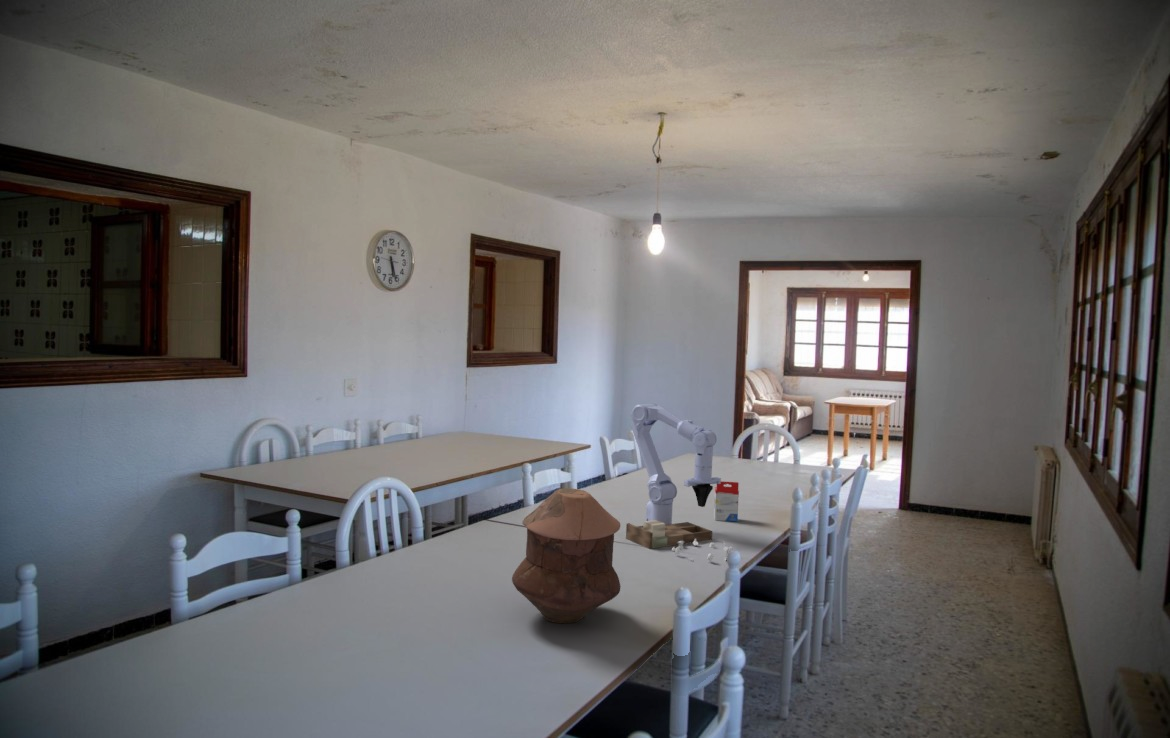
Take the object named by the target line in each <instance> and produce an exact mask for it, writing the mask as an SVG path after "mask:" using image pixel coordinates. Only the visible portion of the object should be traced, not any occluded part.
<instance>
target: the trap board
mask: <svg viewBox="0 0 1170 738" xmlns="http://www.w3.org/2000/svg"><path fill="white" fill-rule="evenodd" d="M652 536H653V533H652V532H649V531H647V530H644V529H643V525H634V524H633V523H630V522H628V523H626V529H625V539H626V540H629V541H631V542H632V543H635V544H638V545H640V546H643V547H644V548H647V549H649V550H650V549H658V548H664V547H665V548H666V547H670V546H673V547H674V546H679V544H678V541H683V542H684V543H683V545H687V544H693V542H694V541H695V539H696V541H697V542H698V543H701V542H707V541H713V530H711V529H707V528H705V527H702V526H699V525H696V524H695V523H691V522H689V521H685V522H676V523H672V524H668V525H665V536H661V537H654V538H652Z"/></svg>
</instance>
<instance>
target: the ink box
mask: <svg viewBox="0 0 1170 738" xmlns="http://www.w3.org/2000/svg"><path fill="white" fill-rule="evenodd" d="M739 484H740V483H739V482H737V481H722V480H721V484H716V487H714V504H713V505H714V506H713V519H714V521H722V522H737V523H738V520H739V517H738V516H739V515H738V513H739V495H740V494H739V493H740V490H739ZM724 485H726V486H724ZM727 485H728V486H727Z"/></svg>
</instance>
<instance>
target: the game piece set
mask: <svg viewBox="0 0 1170 738" xmlns="http://www.w3.org/2000/svg"><path fill="white" fill-rule="evenodd" d="M683 543H684V542H683V541H678V544H679V545H677V546H676V547H675V546H673V547H672V548H671V552H674V554H675V556H676V557H679V556H680V551H681V549H683V548H684V546H683V545H684V544H683ZM722 543H723V546H722V547H723V553H724V558H723V559H722V561H723V562H727V561H726V558H727V555H726V553H727V552H728V551H729V552H730V551H732V552H733V550H734V548H733V547H732V546H727V544H726V542H725V541H723V542H722ZM692 545H693V546H694V547H696V546H698V547H699V542H697V541H696V539H695V541H694V542H693V543H692ZM709 548H710V549H716V546H715V542H710V543H709ZM725 551H726V552H725ZM686 558H688V561H689V562H694V558H690V557H689V556H688V555H687V556H686ZM713 559H714V555H713V554H712V553H708V555H707V558H706V561H707V563H709V564H711V563H712V560H713Z"/></svg>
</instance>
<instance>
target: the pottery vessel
mask: <svg viewBox="0 0 1170 738" xmlns="http://www.w3.org/2000/svg"><path fill="white" fill-rule="evenodd" d="M521 523H522V525H523V526H525V528H526V544H525V547H526V548H525V557H524V559H523V560H522V561H521V562H520V564H519V565H518V567H517V568H516V569H515V571H514V572H513V574H512V577H511V583H512V584H513V586H514V587H515V589H516V590H517V592H519V593H520V594H521V595H522V596H524V598H526V599H527V601H529V602H530V603H531V604H532V605H533V607H534V608H535V609H537V610H538V611H539V613H541V614H542V616H543V618H544V619H545V620H547V621H549V622H552V623H556V624H569V623H570V624H571V623H575V622H579V621H581V620H582V618H583V617H584V615H586V614H588V613H590V612H591V611H593V610H595V609H597V608H599V607H600V606H602V605H604V604H606V603H607V602H610V601H612V600H613V599H615V598H617V596H618V595H619V594H620V591H621V583H620V578H619V576H618V574H617V572H616V570H615V568H614V567H613V559H614V558H613V557H614V543H615V542H614V541H615V534H616V533H617V532H619V530H620V529H621V522H620V521H619V520H618V519H617V518H616V517H614V516H613V515H612V514H611V513H610V512H608V511H607V510H606V509H605V508H604V507H603V505H601V504H600V503H599V501H597V499H596V498H595V497H594V496H592V494H591V493H589V492H587V491H586V490H583V489H577V488H571V487H568V488H565V487H564V488H559V489H556V490H555V491H554V492H552V494H550V495H549V496H548V497H547V498H546V499H544V500H543V502H541V503H540V504H539V505H538V506H537V507H536V508H535V509H534V510H533V511H531V513H529V514H528V515H526V516H525V517H524V518H523V520H522V522H521Z"/></svg>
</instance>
